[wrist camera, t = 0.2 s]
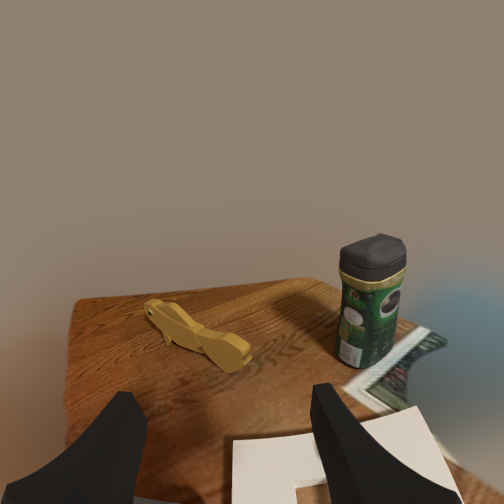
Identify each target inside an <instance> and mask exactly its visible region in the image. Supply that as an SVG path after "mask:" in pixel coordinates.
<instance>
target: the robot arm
mask: <svg viewBox="0 0 504 504" xmlns="http://www.w3.org/2000/svg"><path fill="white" fill-rule="evenodd" d="M310 418H311V424H312V429H313V435H314V439H315V442H316V445H317V449H318V452H319V455H320V459H321V462H322V465H323V468H324V472H325V475H326V478H327V482H328V486H329V492H330V498H331V504H462V501H461V499H460V497H459V496H458V494H457V493H456V492H455V491H453V490H450V489H448V488H445V487H443V486H441V485H439V484H437V483H435V482H433V481H431V480H429V479H427V478H425V477H423V476H422V475H420V474H419V473H417V472H415V471H414V470H412V469H411V468H409V467H408V466H406V465H405V464H403V463H402V462H401V461H399V460H398V459H397V458H396V457H394V456H393V455H392V454H391V453H390V452H388V451H387V450H386V449H385V448H384V447H383V446H382V445H380V444H379V443H378V442H377V441H376V440H375V439H374V438H373V437H372V436H371V435H370V434H369V433H368V431H367V430H366V429H365V428H364V427H363V426H362V425H361V424H360V422H359V421H358V420H357V419H356V418H355V417H354V415H353V414H352V413H351V412H350V410H349V409H348V408H347V406H346V405H345V404H344V402H343V401H342V400H341V398H340V397H339V395H338V394H337V392H336V391H335V389H334V388H333V386H332V385H331V384H330V383H323V384H317V385H313V392H312V401H311V409H310ZM146 430H147V419H146V417H145V415H144V414H143V412H142V410H141V409H140V407H139V405H138V403H137V402H136V400H135V398H134V396H133V395H132V393H131V392H123V391H118V392H117V394H116V395H115V396H114V397H113V398H112V399H111V401H110V402H109V403H108V404H107V405H106V407H105V408H104V409H103V410H102V411H101V413H100V414H99V415H98V416H97V417H96V419H95V420H94V421H93V422H92V423H91V424H90V426H89V427H88V428H87V429H86V430H85V431H84V432H83V433H82V434H81V435H80V436H79V438H78V439H77V440H76V441H75V442H74V443H73V444H72V445H71V446H70V447H68V448H67V449H66V450H65V451H64V452H63V453H62V454H60V455H59V456H58V457H57V458H55V459H54V460H53V461H51V462H50V463H48V464H47V465H45V466H44V467H43V468H41V469H39V470H38V471H36V472H34V473H33V474H30V475H28V476H27V477H24V478H22V479H20V480H17V481H15V482H12V483H10V484H7V486H6V489H5V492H4V495H3V497H2V500H1V504H133V502H134V489H135V483H136V478H137V473H138V469H139V465H140V461H141V457H142V452H143V448H144V444H145V438H146Z"/></svg>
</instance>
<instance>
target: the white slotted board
mask: <svg viewBox="0 0 504 504" xmlns="http://www.w3.org/2000/svg"><path fill="white" fill-rule="evenodd" d="M360 424H361V425H362V426H363V427H364V428H365V429H366V430H367V431H368V433H369V434H370V435H371V436H372V437H373V438H374V439H375V440H376V441H377V442H378V443H379V444H380V445H382V446H383V447H384V448H385V449H386V450H387V451H388V452H390V453H391V454H392V455H393V456H394V457H396V458H397V459H398V460H399V461H401V462H402V463H403V464H405V465H406V466H408V467H409V468H411V469H412V470H414V471H415V472H417V473H419V474H420V475H422V476H423V477H425V478H427V479H429V480H431V481H433V482H435V483H437V484H439V485H441V486H443V487H445V488H448V489H450V490H453V491H455V492H456V493H457V494H458V496H459V497H460V499H461V501H462V504H464V503H463V500H462V498H461V495H460V493H459V491H458V488H457V486H456V484H455V482H454V479H453V477H452V475H451V473H450V471H449V469H448V466H447V464H446V462H445V460H444V458H443V456H442V454H441V452H440V450H439V448H438V446H437V444H436V442H435V440H434V438H433V436H432V434H431V432H430V430H429V428H428V426H427V424H426V422H425V420H424V419H423V417H422V415H421V413H420V411H419V409H418V408H417V406H414V407H411V408H409V409H406V410H403V411H400V412H397V413H393V414H390V415H387V416H384V417H380V418H377V419H373V420H369V421H366V422H362V423H360ZM325 483H328V482H327V478H326V475H325V472H324V468H323V465H322V462H321V459H320V455H319V452H318V449H317V445H316V442H315V439H314V435H313V433H308V434H301V435H294V436H286V437H277V438H266V439H253V440H233V469H232V504H297V500H296V492H295V488H301V487H308V486H314V485H320V484H325Z"/></svg>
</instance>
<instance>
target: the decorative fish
mask: <svg viewBox="0 0 504 504" xmlns="http://www.w3.org/2000/svg"><path fill="white" fill-rule="evenodd" d="M144 310H145V312H146V314H147V316H148V317H149V319H150V320H151V321H152V322H153V323H154V324H155V325H156V326H157V327H158V328H159V329H160V330H161V331H162V333H163V336H164V339H165V342H166V345H167V346H168V347H169V346H171V342H172V341H171V340H173V341H174V342H175V343H177V344H178V345H180V346H183V347H185V348H188V349H190V350H192V351H195V352H199V353H203V354H207V356H208V357H209V358H210V359H211V360H212V361H213V362H214V363H215V364H216V365H217V366H218V367H219V368H221V369H222V370H223V371H224V372H226V373H232V372H235V371H237V370H239V369H241V368H242V367H244V366H245V365H246V364H247V363H248V362H249V361H250V360H251V359H252V356H250V355H247V354H248V353H249V352H250V349H251V347H250V345H249V343H248V342H246V341H245V340H243V339H242V338H240V337H239V336H237V335H235V334H233V333H230V332H226V333H222V332H217V331H213V330H210V329H206V328H205V327H204V326H203V325H202V324H200V323H198V322H196V321H194V320H192V319H191V317H190V316H189V315H188V314H187V313H186V312H185V311H184V310H183V309H182V308H181V307H180V306H179V305H177V304H176V303H173V302H171V303H163V302H162V301H161V300H158V299H152V300H150V301H148V302H146V303H144Z"/></svg>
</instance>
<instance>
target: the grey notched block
mask: <svg viewBox="0 0 504 504" xmlns="http://www.w3.org/2000/svg"><path fill="white" fill-rule="evenodd" d="M133 504H179V503H171V502H164V501H158V500H152V499H146V498H141V497H136V496H134V502H133Z"/></svg>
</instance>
